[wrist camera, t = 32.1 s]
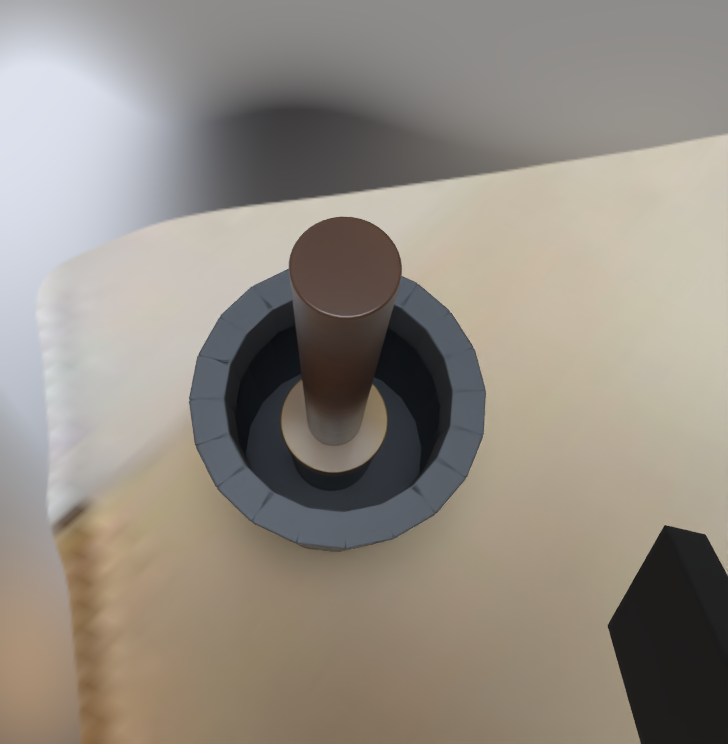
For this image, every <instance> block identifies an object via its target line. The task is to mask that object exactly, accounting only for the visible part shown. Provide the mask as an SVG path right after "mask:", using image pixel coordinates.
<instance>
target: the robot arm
mask: <svg viewBox="0 0 728 744" xmlns="http://www.w3.org/2000/svg"><path fill="white" fill-rule="evenodd" d="M608 629H609V632H610V636H611V639H612V643H613V646H614V650H615V653H616V657H617V661H618V664H619V668H620V671H621V675H622V678H623V682H624V685H625V689H626V692H627V696H628V699H629V703H630V706H631V710H632V713H633V717H634V720H635V724H636V728H637V731H638V735H639V738H640V742H641V744H728V575H727V574H726V572H725V570H724V568H723V566H722V564H721V562H720V561H719V559H718V557H717V555H716V553H715V551H714V549H713V548H712V546H711V544H710V542H709V540H708V538H707V536H706V535H705V534H700V533H696V532H692V531H688V530H683V529H679V528H675V527H670V526H666V525H665V526H664V527H663V529H662V531H661V533H660V534H659V536H658V538H657V540H656V541H655V543H654V545H653V547H652V548H651V550H650V552H649V554H648V555H647V557H646V559H645V561H644V562H643V564H642V566H641V568H640V569H639V571H638V573H637V575H636V576H635V578H634V580H633V582H632V583H631V585H630V587H629V589H628V591H627V592H626V594H625V596H624V598H623V599H622V601H621V603H620V605H619V606H618V608H617V610H616V612H615V613H614V615H613V617H612V619H611V620H610V622H609V624H608Z"/></svg>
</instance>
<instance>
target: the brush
mask: <svg viewBox="0 0 728 744" xmlns="http://www.w3.org/2000/svg"><path fill="white" fill-rule="evenodd" d="M401 275H402V264H401V259H400V255H399V252H398V250H397V248H396V246H395V244H394V243H393V241H392V240H391V239H390V238H389V236H388V235H387V234H386V233H385V232H384V231H383V230H381V229H380V228H379V227H377V226H375V225H374V224H372V223H370V222H367V221H365V220H362V219H358V218H353V217H335V218H330V219H327V220H323V221H321V222H319V223H317V224H315V225H313V226H312V227H310V228H309V229H308V230H307V231H305V232H304V233H303V234H302V235H301V236H300V238H299V239H298V240H297V242H296V243H295V245H294V247H293V249H292V252H291V255H290V259H289V277H290V285H291V293H292V301H293V309H294V317H295V325H296V333H297V341H298V350H299V358H300V366H301V374H302V379H300V380H299V381H298V382H297V383H296V384H295V385H294V386H293V387H292V389H291V390H290V391H289V393H288V394H287V396H286V398H285V400H284V403H283V406H282V410H281V417H280V424H281V431H282V436H283V439H284V441H285V444H286V446H287V448H288V450H289V452H290V453H291V455H292V459H293V462H294V464H295V467H296V469H297V471H298V473H299V474H300V476H301V477H302V478H303V479H304V480H305V481H306V482H308V483H309V484H310V485H312V486H314V487H316V488H319V489H322V490H328V491H335V490H341V489H345V488H347V487H350V486H351V485H353V484H355V483H356V482H357V481H358V480H359V479H360V478H361V477H362V476H363V475H364V474H365V472H366V470H367V469H368V467H369V465H370V463H371V460H372V459H373V458H374V457H375V455H376V454H377V453H378V451H379V449H380V448H381V446H382V444H383V441H384V439H385V436H386V432H387V426H388V415H387V409H386V405H385V402H384V400H383V398H382V396H381V394H380V392H379V391H378V390H377V388H376V387H375V386H374V385H373V384H372V382H373V379H374V375H375V371H376V368H377V364H378V361H379V357H380V353H381V350H382V346H383V342H384V339H385V335H386V332H387V328H388V324H389V321H390V317H391V314H392V310H393V306H394V303H395V299H396V296H397V292H398V288H399V285H400V281H401Z"/></svg>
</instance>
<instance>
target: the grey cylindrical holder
mask: <svg viewBox="0 0 728 744" xmlns="http://www.w3.org/2000/svg"><path fill="white" fill-rule="evenodd" d="M449 312H450V311H449V310H448V309H447V308H446V307H445V306H444V305H442V304H441V303H440V302H439V301H438V300H437V299H435V298H434V297H433V296H432V295H431V294H429V293H428V292H427V291H426V290H425V289H424V288H422V287H421V286H420V285H418V284H417V283H416V282H414V281H412V280H409V279H407V278H405V277H403V276H401V281H400V285H399V288H398V292H397V296H396V299H395V303H394V306H393V310H392V314H391V317H390V321H389V324H388V328H387V332H386V335H385V339H384V342H383V346H382V350H381V353H380V357H379V361H378V364H377V368H376V371H375V375H374V379H373V382H372V384H373V385H374V386H375V387H376V388H377V390H378V391H379V392H380V394H381V396H382V398H383V400H384V402H385V405H386V409H387V415H388V426H387V432H386V436H385V439H384V441H383V444H382V446H381V448H380V449H379V451H378V453H377V454H376V455H375V457H374V458H373V459H372V460H371V463H370V465H369V467H368V469H367V470H366V472H365V474H364V475H363V476H362V477H361V478H360V479H359V480H358V481H357V482H356V483H355V484H353V485H351V486H350V487H347V488H345V489H341V490H335V491H328V490H322V489H319V488H316V487H314V486H312V485H310V484H309V483H308V482H306V481H305V480H304V479H303V478H302V477H301V476H300V474H299V473H298V471H297V469H296V467H295V464H294V462H293V459H292V455H291V453H290V452H289V450H288V448H287V446H286V444H285V441H284V439H283V436H282V431H281V424H280V417H281V410H282V406H283V403H284V400H285V398H286V396H287V394H288V393H289V391H290V390H291V389H292V387H293V386H294V385H295V384H296V383H297V382H298V381H299V380H300V379H302V374H301V366H300V358H299V350H298V341H297V333H296V325H295V317H294V309H293V301H292V293H291V285H290V277H289V269H287V270H285V271H283V272H281V273H279V274H277V275H275V276H273V277H271V278H269V279H267V280H264V281H262V282H260V283H258V284H256V285H254V286H253V287H251V288H250V289H249V290H247V291H246V292H245V293H244V294H243V295H242V296H241V297H240V298H239V299H238V300H237V301H236V302H234V303H233V304H232V305H231V306H230V307H229V308H228V309H227V310H226V311H225V312H224V313H223V314H222V315H221V316H220V318H219V319H218V321H217V322H216V324H215V326H214V328H213V330H212V331H211V333H210V335H209V337H208V338H207V340H206V342H205V344H204V345H203V347H202V349H201V351H200V353H199V356H198V357H197V361H196V366H195V372H194V377H193V382H192V387H191V392H190V397H189V399H190V401H189V404H190V411H191V419H192V426H193V434H194V441H195V445H196V448H197V450H198V452H199V454H200V456H201V458H202V460H203V462H204V464H205V466H206V468H207V470H208V472H209V474H210V476H211V478H212V480H213V482H214V484H215V486H216V487H217V489H218V490H219V491H220V492H221V493H222V494H223V495H224V496H225V497H226V498H227V499H228V500H229V501H230V502H231V503H232V504H233V505H234V506H235V507H236V508H237V509H238V510H239V511H240V512H241V513H242V514H243V515H244V516H245V517H246V518H247V519H249V520H250V521H251V522H253V523H254V524H256V525H258V526H260V527H262V528H264V529H267V530H269V531H271V532H273V533H275V534H277V535H279V536H281V537H283V538H286V539H288V540H290V541H292V542H294V543H296V544H298V545H300V546H302V547H305V548H308V549H317V550H324V551H334V552H340V551H345V550H349V549H354V548H359V547H363V546H368V545H372V544H376V543H380V542H384V541H387V540H391V539H393V538H396V537H398V536H400V535H401V534H403V533H405V532H406V531H408V530H410V529H411V528H413V527H415V526H416V525H418V524H420V523H422V522H423V521H425V520H427V519H428V518H430V517H432V516H433V515H434V514H435V513H437V512H438V511H439V510H440V508H441V507H442V506H443V505H444V504H445V503H446V501H447V500H448V499H449V498H450V497H451V496H452V494H453V493H454V492H455V491H456V490H457V488H458V487H459V486H460V485H461V484H462V483H463V481H464V480H465V479H466V477H467V475H468V473H469V470H470V468H471V465H472V463H473V460H474V458H475V455H476V453H477V450H478V448H479V445H480V443H481V440H482V438H483V434H484V416H485V398H486V391H485V386H484V382H483V379H482V375H481V371H480V367H479V364H478V360H477V356H476V353H475V349H473V346H472V344H471V343H470V341H469V340H468V338H467V336H466V335H465V333H464V332H463V330H462V329H461V327H460V325H459V324H458V322H457V321H456V319H455V318H454V316H453V315H452V313H449Z"/></svg>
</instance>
